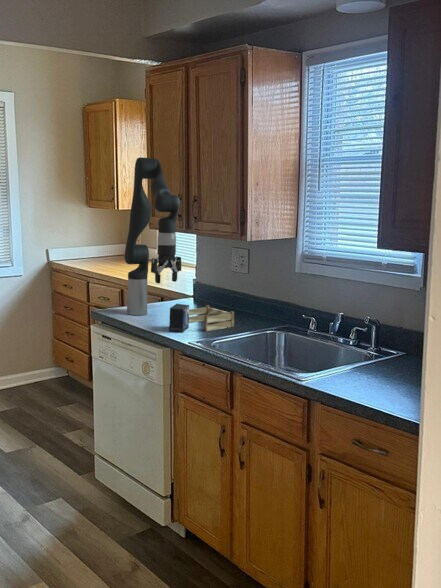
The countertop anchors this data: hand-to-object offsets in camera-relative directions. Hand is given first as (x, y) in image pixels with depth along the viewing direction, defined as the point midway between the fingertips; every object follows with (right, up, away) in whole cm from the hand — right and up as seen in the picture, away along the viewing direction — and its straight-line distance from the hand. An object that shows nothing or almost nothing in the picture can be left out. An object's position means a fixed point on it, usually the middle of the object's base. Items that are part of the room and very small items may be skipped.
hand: (166, 282), depth 267 cm
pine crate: (+16, -19, +20) cm, 32 cm away
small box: (+5, -21, +10) cm, 24 cm away
